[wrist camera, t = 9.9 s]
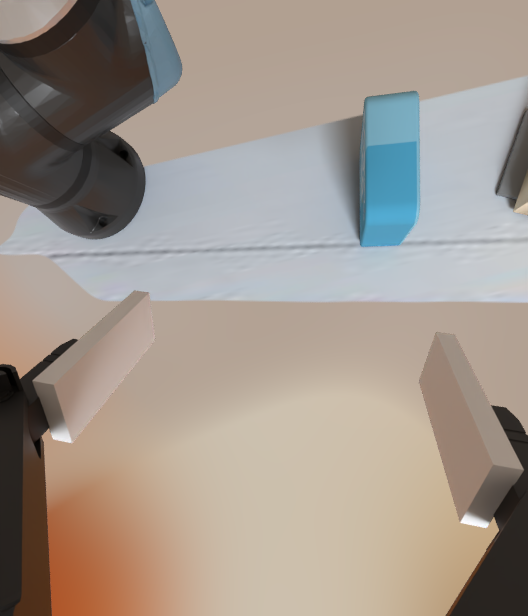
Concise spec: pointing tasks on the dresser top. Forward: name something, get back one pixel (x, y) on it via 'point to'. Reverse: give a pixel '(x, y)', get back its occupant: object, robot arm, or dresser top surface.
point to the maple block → (522, 198)
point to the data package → (389, 168)
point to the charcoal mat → (516, 164)
